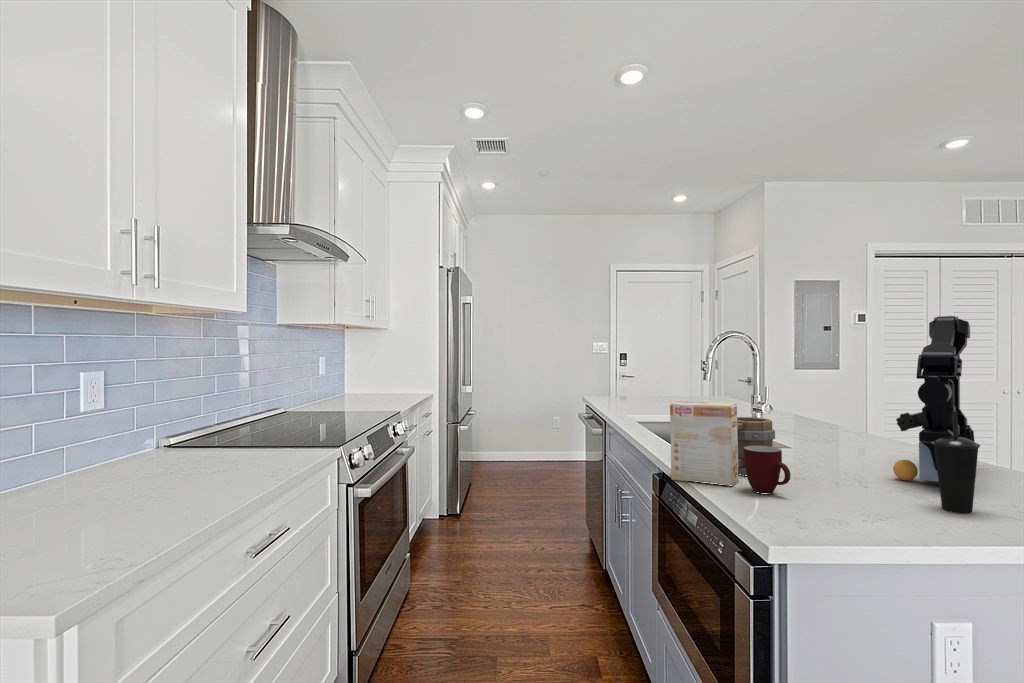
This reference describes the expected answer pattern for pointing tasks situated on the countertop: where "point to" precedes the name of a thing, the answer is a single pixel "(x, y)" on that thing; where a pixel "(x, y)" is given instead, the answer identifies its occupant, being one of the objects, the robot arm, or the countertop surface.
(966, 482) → the drinking cup
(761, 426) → the tankard
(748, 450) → the mug
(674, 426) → the coffeecake box
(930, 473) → the slate grey cube
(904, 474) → the ball
